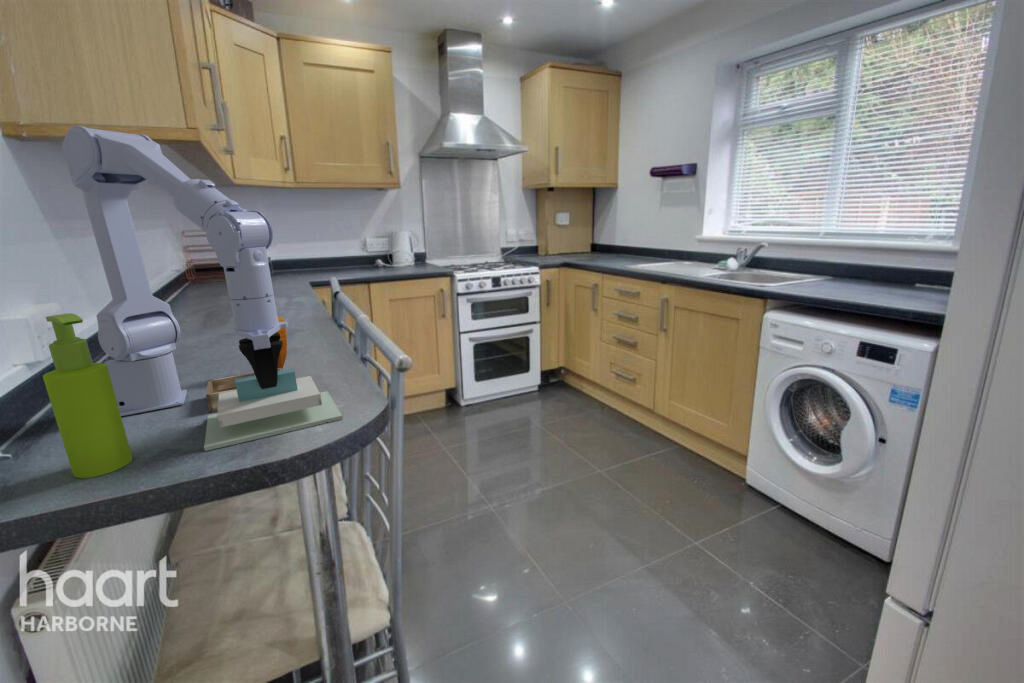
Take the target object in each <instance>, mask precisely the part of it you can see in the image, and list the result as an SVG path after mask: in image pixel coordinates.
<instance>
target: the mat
mask: <svg viewBox="0 0 1024 683" xmlns="http://www.w3.org/2000/svg"><path fill="white" fill-rule="evenodd" d="M319 393H320V396H321V402H322V405H319V406H315V407H310V408H306V409H301V410H297V411H292V412H288V413H283V414H279V415H274V416H270V417H265V418H261V419H256V420H252V421H247V422H243V423H238V424H234V425H229V426H225V427H220V425H219V421H218V417H217V413H211V414H208V415H207V420H206V429H205V437H204V445H203V450H204V452H207V451H212V450H215V449H216V450H217V449H220V448H221V449H222V448H225V447H228V446H233V445H237V444H243V443H246V442H250V441H256V440H258V439H259V440H260V439H263V438H268V437H272V436H276V435H277V436H278V435H280V434H284V433H289V431H290V432H293V431H298V430H302V428H303V429H306V427H307V428H310V427H315V425H316V426H319V424H320V425H324V424H327V423H326V422H328V423H331V422H332V421H333V422H336V421H341V420H343V415H342V413H341V411H340V410H339V408H338V406H337V405H336V403H335V401H334V399H333V398H332V396H331V394H330V392H329V391H328V390H326V391H321V392H320V391H319ZM323 423H324V424H323Z"/></svg>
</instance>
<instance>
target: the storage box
mask: <svg viewBox="0 0 1024 683" xmlns="http://www.w3.org/2000/svg"><path fill="white" fill-rule="evenodd" d="M279 370H284V368H278V371H279ZM252 375H255V373H254V372H250V373H244V374H238V375H231V376H227V377H226V376H225V377H220V378H214V379H208V380H207V385H206V386H207V387H206V392H205V393H206V394H205V397H206V402H207V406H208V411H209V413H214V412H218V400H219V393H224V392H229V391H235V390H237V389H236V385H235V378H241V377H246V376H252Z"/></svg>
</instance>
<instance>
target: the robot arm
mask: <svg viewBox="0 0 1024 683" xmlns="http://www.w3.org/2000/svg"><path fill="white" fill-rule="evenodd" d="M61 148H62V152H63V155H64V159H65V162H66V163H65V164H66V166H67V169H68V172H69V177H70V179H71V181H72V185H73V186H74V187H75V188H77V189H78V190H81V193H82V197H83V200H84V204H85V207H86V211H87V214H88V218H89V221H90V224H91V228H92V232H93V235H94V238H95V242H96V245H97V250H98V253H99V256H100V259H101V263H102V266H103V270H104V274H105V278H106V281H107V284H108V287H109V288H108V289H109V291H110V294H111V301H110V302H108V303H107V304H106V306H105V307H103V308H102V309H101V310H100V311H99V312H98V313H97V314H96V320H97V328H98V331H97V338H98V342H99V346H100V347H101V349H102V351H103V352H104V353H106V355H108V356H109V357H110V358H113V359H110V360H106V361H105V362H104V363H105V364H107V367H108V371H109V374H110V378H111V382H112V385H113V389H114V392H115V396H116V400H117V403H118V407H119V411H120V414H121V417H123V416H130V415H135V414H140V413H145V412H151V411H156V410H162V409H166V408H172V407H177V406H181V405H184V403H185V401H186V396H187V394H188V390H187V389H182V388H181V384H180V383H181V382H180V379H179V375H178V370H177V366H176V362H175V358H174V354H173V351H174V350H176V349H177V346H176V345H177V344H178V342H180V338H181V328H180V324H179V322H178V320H177V319H176V317H175V316H174V314H173V311H172V309H171V308H172V307H171V305H170V304H169V303H168V302H165V301H164V300H162V299H160V298H158V297H156V296H154V295H153V292H152V290H151V285H150V281H149V278H148V274H147V271H146V267H145V263H144V258H143V255H142V251H141V248H140V244H139V240H138V237H137V232H136V229H135V225H134V221H133V217H132V214H131V209H130V207H129V203H128V197H129V196H130V195H131V193H132V192H134V191H137V190H139V189H140V188H142V187H143V186H144V185H145V184H146V183H147V182H149V183H151V184H153V185H154V186H156V187H157V188H159V189H160V190H162V191H163V192H165V193H167V194H168V195H169V196H171V197H172V199H173V205H174V207H175V209H176V210H177V212H179V213H180V214H181V215H183V216H184V217H185V218H186V219H188V220H190V221H191V222H192V223H193V224H194V225H196V226H197V227H198V228H199V229H201V230H203V231H204V232H205V236H206V237H205V238H206V240H207V242H208V244H209V246H210V247H211V249H212V250H213V252H214V254H215V255H216V259H217V263H218V264H219V265H220V266H221V267H222V268H223V271H224V275H225V276H224V278H225V282H226V287H227V293H228V296H229V302H230V307H231V312H232V317H233V322H234V327H235V328H234V329H233V331H234V335H236V336H238V337H240V338H242V339H239V340H238V348H239V351H240V352H241V353H242V355H243V356H244V357H245V358H246V360H247V361H248V363H249V364H250V366H251V369H252V371H253V373H255V376H256V378H257V381H258V383H259V385H260V387H261V389H266V388H272V387H276V386H277V379H278V359H279V354H280V351H281V348H282V345H283V342H282V340H281V341H279V340H280V334H279V333H276V332H277V331H279V330H280V329H282V328H286V329H287V328H289V324H288V321H285V320H284V322H279V321H278V316H279V315H278V311H277V303H276V304H275V302H276V299H275V295H274V294H275V293H274V288H273V286H274V285H273V281H272V277H271V276H272V275H271V269H270V265H269V259H268V258H269V257H268V253H267V250H268V249H269V248H270V247H271V244H272V243H273V240H274V239H273V238H274V231H273V227H272V225H271V223H270V221H269V219H268V218H267V217H266V216H265V215H264V214H263V213H262V212H261V211H260V210H255V209H251V210H250V209H249V210H248V209H246V208H242V207H241V206H240V205H239V203H238V202H237V201H235V200H233V199H230V198H229V197H227V195H225V194H224V193H222V192H221V191H220V190H218V189H217V188H216V184H215V183H214V182H213V181H211V180H209V179H201V178H193V179H191V178H190V177H189V176H187V175H186V174H185V173H184V172H183V171H182V170H181V169H180V168H179V167H178V166H177V165H175V164H174V163H173V162H172V161H170V159H168V157H166V156H165V155H164V154H163V152H162V149H161V145H160V144H159V143H157V142H155V141H154V140H153V139H151V137H149V136H147V135H146V134H143V133H142V134H141V133H135V134H134V133H126V132H120V131H113V130H108V129H107V130H106V129H105V130H104V129H97V128H93V127H92V128H91V127H86V126H84V125H78V124H76V125H72V126H71V127H69V129H68V130H67V132H66V134H65V137H64V139H63V141H62V145H61ZM143 314H144V315H143ZM137 315H138V316H137Z"/></svg>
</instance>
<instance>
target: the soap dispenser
mask: <svg viewBox="0 0 1024 683" xmlns="http://www.w3.org/2000/svg"><path fill="white" fill-rule="evenodd" d="M45 319H46V322H50V323H51V324H52V328H53V331H54V335H55V339H56V340H54V341H53V342H52V343H49V344H48V349H49V352H50V355H51V358H52V362H53V365H54V369H53V370H51V371H48V372H46V373H44V374H43V375H42V378H43V382H44V386H45V389H46V393H47V395H48V398H49V402H50V404H51V407H52V408H51V409H52V411H53V415H54V418H55V421H56V424H57V427H58V431H59V433H60V434H59V435H60V437H61V440H62V443H63V446H64V449H65V452H66V456H67V459H68V462H69V465H70V468H71V472H72V475H73V477H75V478H79V479H90V478H94V477H95V478H96V477H100V476H103V475H107V474H110V473H113V472H114V471H115V472H116V471H117V470H120V469H123V468H124V467H125V466H127V465H129V464H130V463H131V462H132V460H133V455H132V452H131V447H130V445H129V440H128V438H127V433H126V429H125V426H124V421H123V419H122V416H121V414H120V411H119V407H118V403H117V400H116V396H115V392H114V389H113V385H112V382H111V378H110V374H109V371H108V367H107V364H105V362H104V363H103V362H93V359H92V356H91V352H90V348H89V345H88V341H87V340H86V339H85V338H81V337H77V336H76V332H75V330H74V326H73V325H75V324H76V325H77V324H81V323H83V321H84V319H83V318H82V317H80V315H77V314H76V313H63V314H62V313H61V314H54V315H48V316H45Z"/></svg>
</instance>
